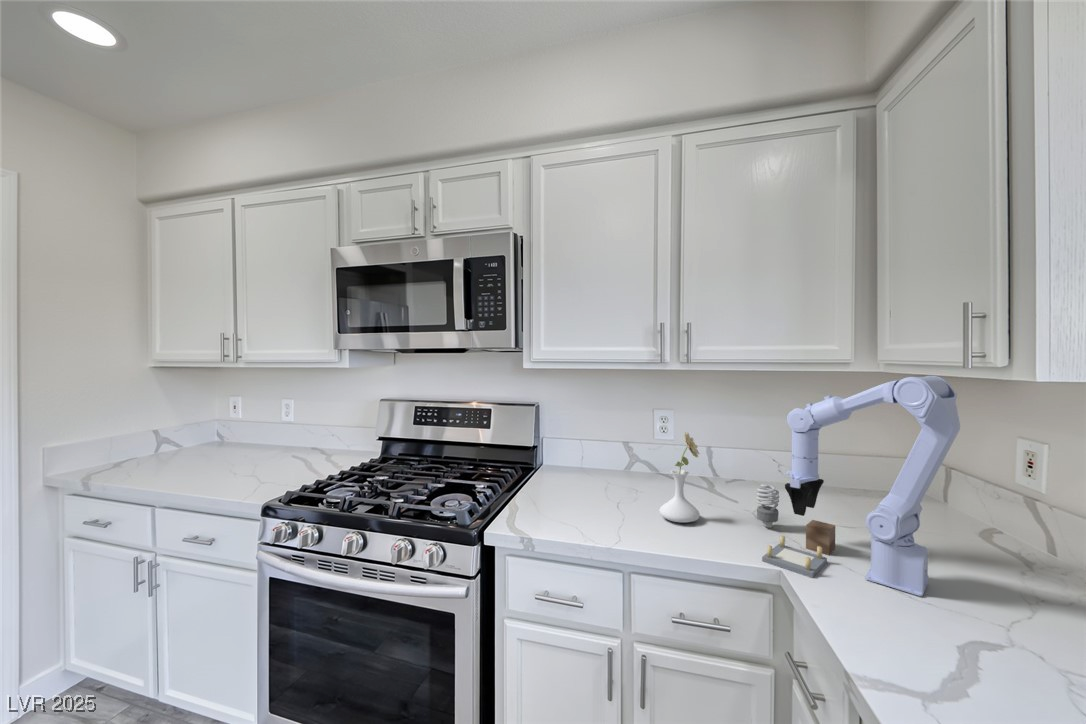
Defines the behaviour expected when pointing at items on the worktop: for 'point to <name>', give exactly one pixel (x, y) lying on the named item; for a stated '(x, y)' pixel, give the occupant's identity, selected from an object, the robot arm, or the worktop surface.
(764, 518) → the light bulb
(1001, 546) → the worktop surface
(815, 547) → the walnut block
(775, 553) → the standoff board
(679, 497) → the flower in vase
